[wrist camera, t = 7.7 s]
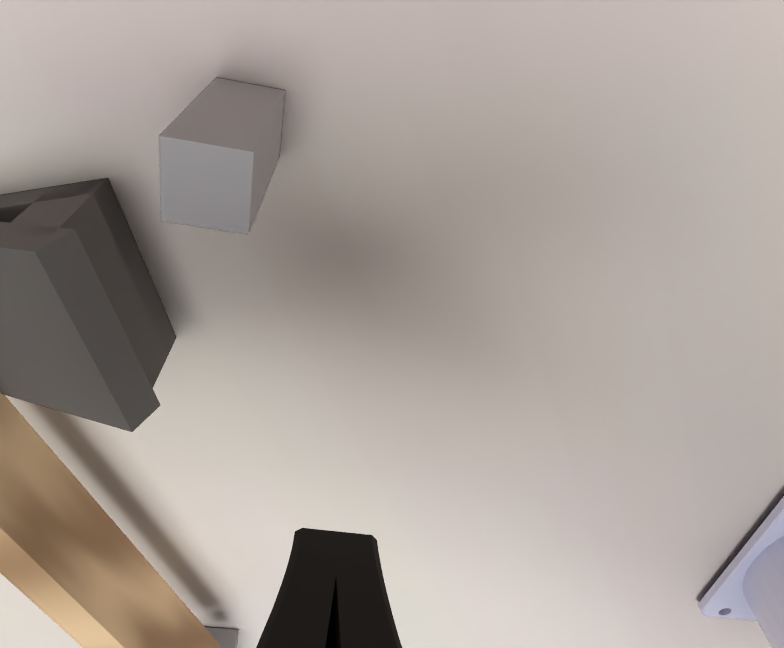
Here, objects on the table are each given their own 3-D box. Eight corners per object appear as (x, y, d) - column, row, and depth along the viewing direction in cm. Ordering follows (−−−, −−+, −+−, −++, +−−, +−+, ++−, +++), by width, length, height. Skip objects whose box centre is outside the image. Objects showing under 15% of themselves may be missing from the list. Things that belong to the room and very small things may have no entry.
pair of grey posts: (285, 90, 14) (253, 151, 11) (236, 657, 28) (214, 770, 24) (215, 77, 14) (159, 135, 10) (200, 654, 28) (173, 768, 24)
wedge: (-14, 363, 19) (-98, 461, 15) (-114, 212, 16) (-243, 293, 13) (190, 335, 18) (149, 429, 15) (125, 175, 15) (55, 248, 12)
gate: (231, 657, 25) (215, 736, 23) (188, 665, 25) (169, 744, 23) (-155, 211, 14) (-264, 273, 12) (-221, 234, 14) (-342, 298, 12)
